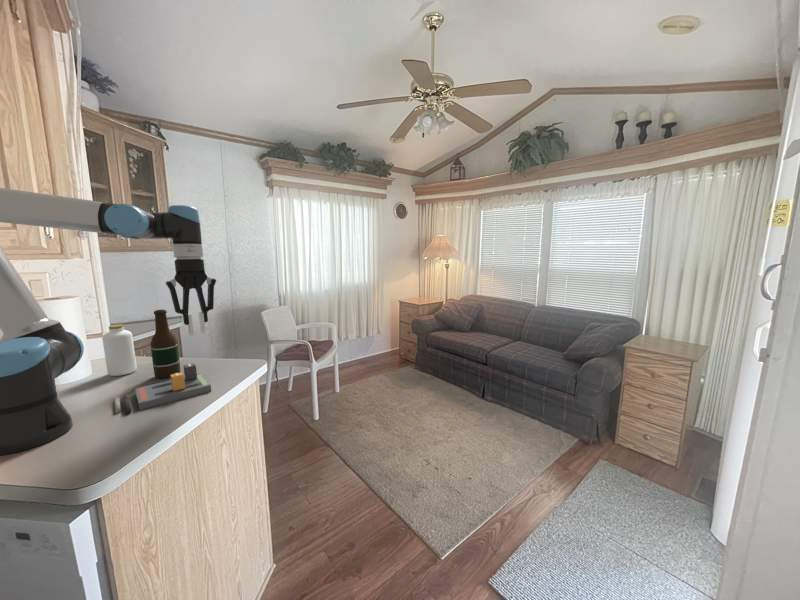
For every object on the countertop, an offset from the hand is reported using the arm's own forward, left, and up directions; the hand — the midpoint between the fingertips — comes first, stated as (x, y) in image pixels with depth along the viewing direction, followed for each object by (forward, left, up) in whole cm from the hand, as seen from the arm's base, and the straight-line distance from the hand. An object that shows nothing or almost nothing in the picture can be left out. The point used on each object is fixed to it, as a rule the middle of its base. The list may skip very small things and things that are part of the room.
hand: (197, 333), depth 103 cm
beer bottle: (-6, +23, -19) cm, 31 cm away
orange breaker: (-7, 0, -16) cm, 17 cm away
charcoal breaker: (-2, +7, -16) cm, 18 cm away
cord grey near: (-21, +3, -19) cm, 28 cm away
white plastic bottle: (-18, +38, -19) cm, 47 cm away
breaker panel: (-7, +3, -19) cm, 20 cm away
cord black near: (-19, +1, -19) cm, 27 cm away
